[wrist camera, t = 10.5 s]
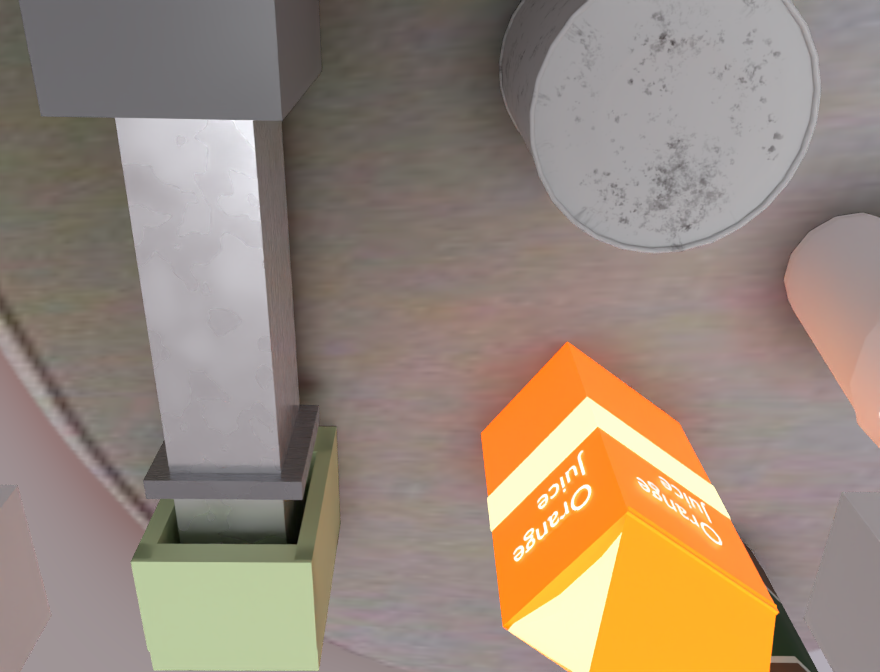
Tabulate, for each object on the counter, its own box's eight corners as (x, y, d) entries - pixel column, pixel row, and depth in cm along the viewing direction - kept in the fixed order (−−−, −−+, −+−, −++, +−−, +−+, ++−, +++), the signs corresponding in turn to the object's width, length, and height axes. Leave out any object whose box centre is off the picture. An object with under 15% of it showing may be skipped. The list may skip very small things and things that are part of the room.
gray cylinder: (462, 110, 38) (477, 178, 27) (567, -91, 34) (634, -107, 23) (629, 200, 40) (706, 297, 29) (745, 19, 37) (884, 52, 26)
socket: (195, 425, 46) (130, 561, 36) (336, 426, 46) (311, 562, 36) (208, 522, 49) (151, 673, 39) (340, 523, 49) (318, 674, 39)
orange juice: (568, 338, 44) (667, 616, 26) (682, 422, 46) (845, 728, 28) (477, 435, 46) (511, 747, 28) (589, 509, 49) (686, 838, 31)
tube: (134, 52, 34) (73, 75, 28) (300, 56, 34) (274, 80, 28) (199, 521, 45) (165, 609, 39) (324, 522, 45) (309, 610, 39)
